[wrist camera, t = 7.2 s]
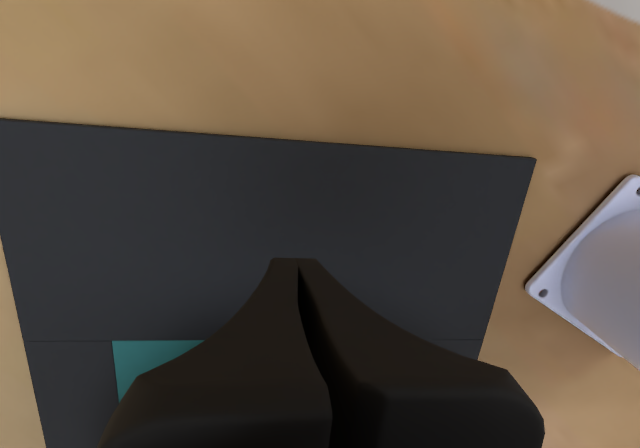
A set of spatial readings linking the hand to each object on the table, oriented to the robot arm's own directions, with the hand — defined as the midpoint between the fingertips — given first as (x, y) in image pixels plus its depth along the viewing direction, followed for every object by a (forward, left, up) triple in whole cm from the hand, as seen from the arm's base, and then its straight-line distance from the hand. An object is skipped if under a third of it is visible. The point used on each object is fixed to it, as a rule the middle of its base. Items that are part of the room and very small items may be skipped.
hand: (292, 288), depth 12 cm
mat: (-6, +10, -8) cm, 14 cm away
